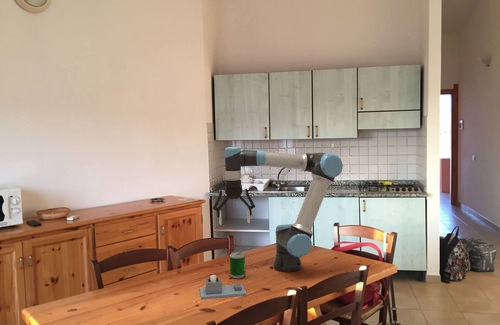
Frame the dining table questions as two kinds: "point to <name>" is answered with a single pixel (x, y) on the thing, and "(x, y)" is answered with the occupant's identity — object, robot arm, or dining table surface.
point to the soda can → (237, 265)
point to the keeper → (224, 290)
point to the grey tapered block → (213, 286)
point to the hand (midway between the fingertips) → (234, 223)
